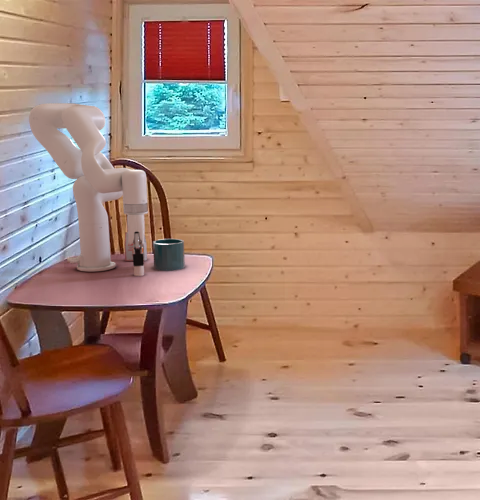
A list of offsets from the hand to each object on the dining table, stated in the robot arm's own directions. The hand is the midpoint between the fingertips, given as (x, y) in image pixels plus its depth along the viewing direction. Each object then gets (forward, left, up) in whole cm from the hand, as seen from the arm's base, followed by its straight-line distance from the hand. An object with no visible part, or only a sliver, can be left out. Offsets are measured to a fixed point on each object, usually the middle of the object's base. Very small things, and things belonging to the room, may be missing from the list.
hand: (138, 264), depth 249 cm
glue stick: (0, 0, -4) cm, 4 cm away
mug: (+10, +11, -4) cm, 15 cm away
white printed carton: (-1, +24, -4) cm, 24 cm away
